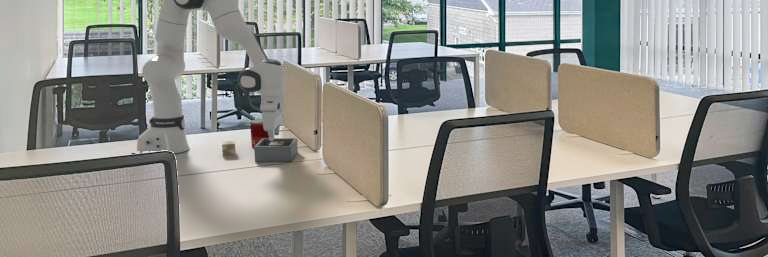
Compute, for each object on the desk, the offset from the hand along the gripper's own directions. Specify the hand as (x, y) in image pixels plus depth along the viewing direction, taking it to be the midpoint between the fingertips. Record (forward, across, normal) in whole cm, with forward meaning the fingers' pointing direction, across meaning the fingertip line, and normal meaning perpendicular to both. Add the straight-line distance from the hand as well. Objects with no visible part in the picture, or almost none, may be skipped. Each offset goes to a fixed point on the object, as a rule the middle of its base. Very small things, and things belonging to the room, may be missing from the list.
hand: (274, 137), depth 276 cm
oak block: (+8, -5, -19) cm, 22 cm away
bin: (+8, 0, +1) cm, 8 cm away
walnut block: (+7, 0, +1) cm, 7 cm away
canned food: (+8, -18, -9) cm, 22 cm away
